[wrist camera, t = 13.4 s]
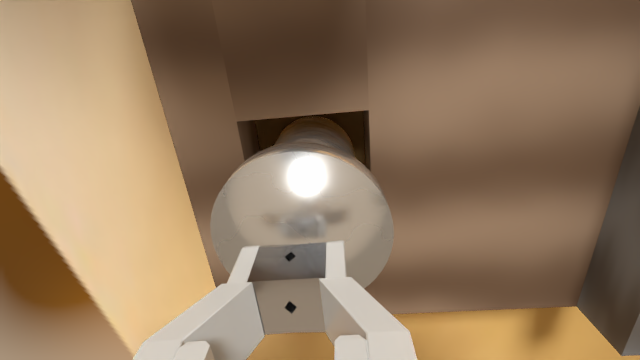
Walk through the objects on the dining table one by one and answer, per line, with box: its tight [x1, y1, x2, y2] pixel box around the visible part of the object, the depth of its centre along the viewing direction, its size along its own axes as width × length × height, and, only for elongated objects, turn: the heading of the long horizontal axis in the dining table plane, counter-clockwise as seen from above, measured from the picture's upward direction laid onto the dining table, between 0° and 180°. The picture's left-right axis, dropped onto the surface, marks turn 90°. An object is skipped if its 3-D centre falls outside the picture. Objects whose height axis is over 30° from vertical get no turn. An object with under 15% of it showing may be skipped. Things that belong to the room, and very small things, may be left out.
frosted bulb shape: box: [210, 116, 394, 288], centre depth 14 cm, size 6×6×8 cm
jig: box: [131, 0, 640, 356], centre depth 15 cm, size 18×22×6 cm
